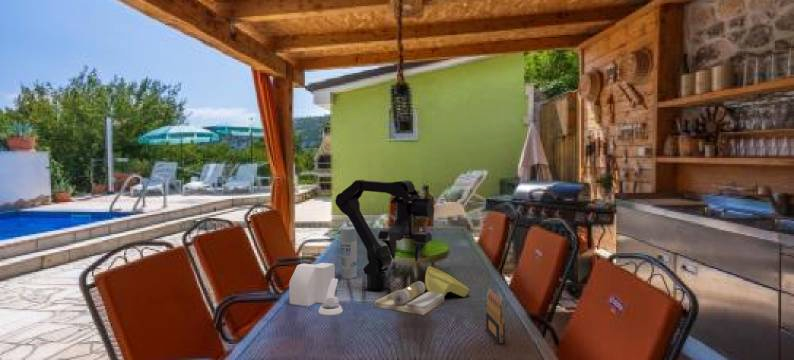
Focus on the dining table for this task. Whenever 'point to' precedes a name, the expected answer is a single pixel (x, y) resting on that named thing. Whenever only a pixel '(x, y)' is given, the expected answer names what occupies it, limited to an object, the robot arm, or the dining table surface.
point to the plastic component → (443, 283)
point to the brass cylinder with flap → (412, 290)
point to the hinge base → (411, 301)
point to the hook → (331, 301)
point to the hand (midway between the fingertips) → (404, 259)
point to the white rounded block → (310, 283)
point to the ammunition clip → (495, 318)
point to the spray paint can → (348, 252)
